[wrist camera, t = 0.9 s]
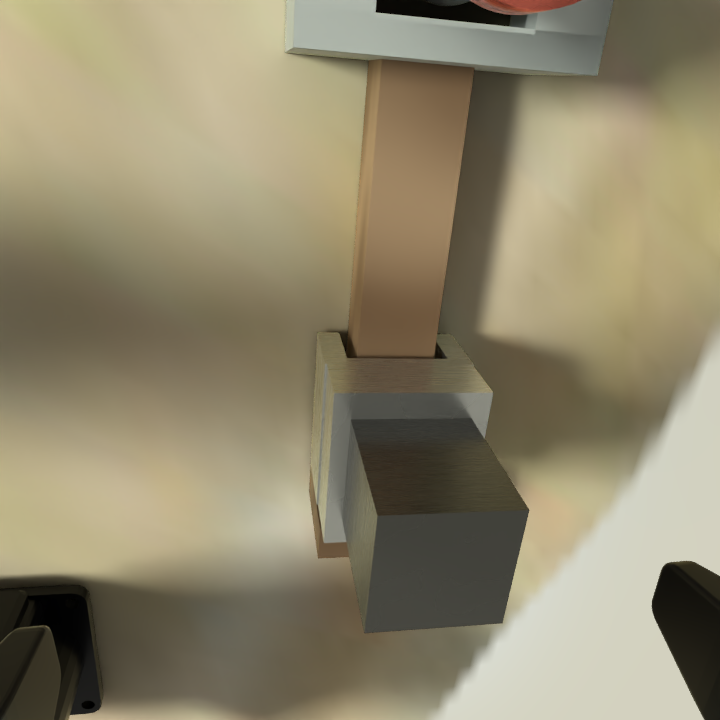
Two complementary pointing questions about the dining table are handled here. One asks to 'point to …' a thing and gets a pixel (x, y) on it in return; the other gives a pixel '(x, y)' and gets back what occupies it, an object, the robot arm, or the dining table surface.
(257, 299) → the dining table surface
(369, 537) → the carriage
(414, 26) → the button housing
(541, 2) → the red plunger button
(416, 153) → the rail
